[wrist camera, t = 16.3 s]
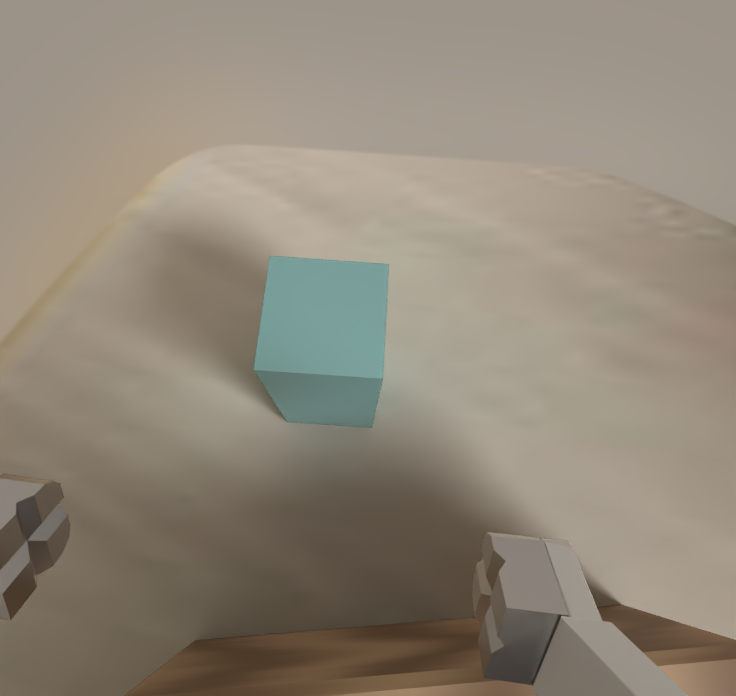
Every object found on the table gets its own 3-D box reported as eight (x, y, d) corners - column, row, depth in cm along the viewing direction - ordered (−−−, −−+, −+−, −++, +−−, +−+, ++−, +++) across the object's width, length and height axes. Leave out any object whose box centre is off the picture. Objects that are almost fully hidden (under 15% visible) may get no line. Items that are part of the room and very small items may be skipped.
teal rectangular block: (376, 347, 24) (388, 264, 16) (371, 427, 23) (382, 378, 15) (296, 342, 24) (269, 255, 16) (287, 422, 23) (253, 370, 15)
